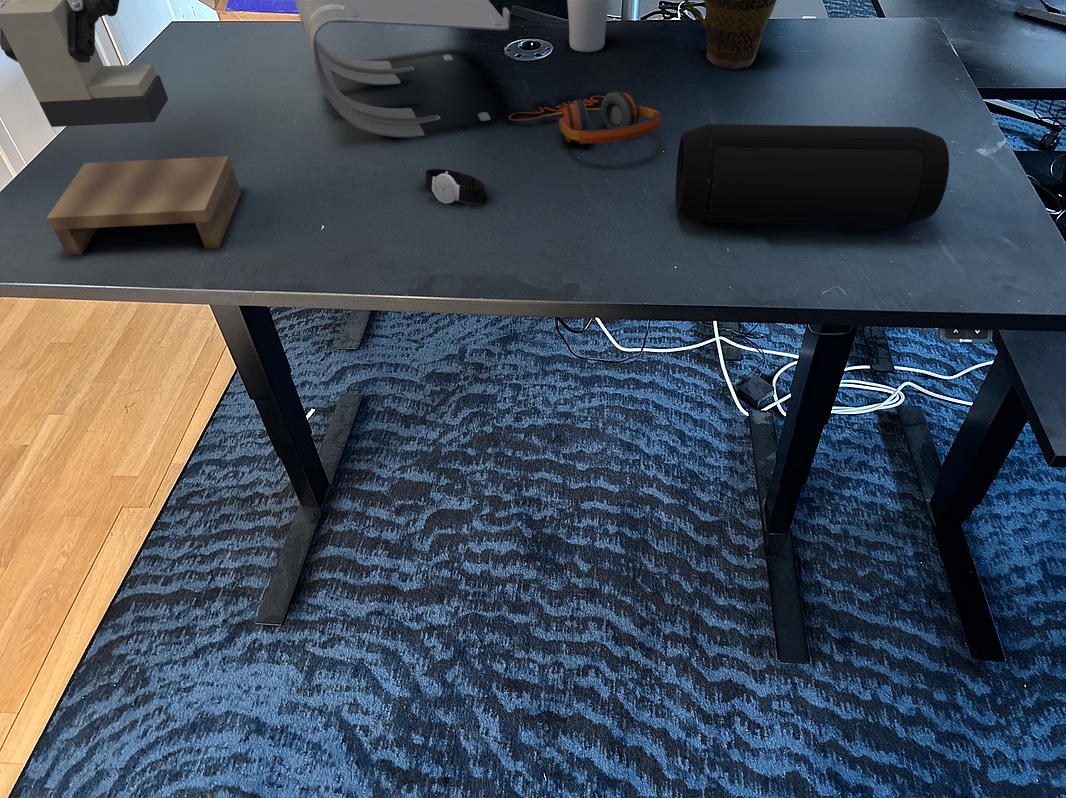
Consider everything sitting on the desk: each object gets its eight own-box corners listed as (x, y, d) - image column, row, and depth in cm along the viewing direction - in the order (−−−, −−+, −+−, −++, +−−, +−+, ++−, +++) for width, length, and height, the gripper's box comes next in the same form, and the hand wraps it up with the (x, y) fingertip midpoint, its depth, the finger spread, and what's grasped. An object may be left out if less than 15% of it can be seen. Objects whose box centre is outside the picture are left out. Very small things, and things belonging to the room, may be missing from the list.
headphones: (504, 135, 103) (568, 172, 87) (498, 94, 100) (564, 124, 84) (615, 110, 107) (695, 140, 92) (613, 69, 105) (695, 94, 89)
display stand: (68, 258, 82) (46, 217, 78) (103, 202, 89) (84, 162, 86) (220, 250, 82) (204, 209, 78) (242, 195, 90) (228, 155, 86)
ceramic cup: (773, 51, 114) (787, -23, 106) (756, 79, 107) (770, 2, 100) (688, 38, 118) (696, -33, 110) (667, 64, 111) (674, -10, 104)
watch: (417, 195, 89) (413, 167, 86) (442, 177, 91) (439, 149, 89) (470, 215, 85) (467, 186, 83) (495, 196, 88) (493, 167, 85)
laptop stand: (311, 73, 112) (284, -44, 101) (468, 49, 117) (458, -66, 106) (336, 156, 95) (306, 26, 84) (518, 123, 100) (512, -4, 89)
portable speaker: (903, 195, 86) (935, 109, 79) (927, 247, 79) (964, 158, 72) (672, 190, 88) (682, 106, 81) (676, 241, 81) (687, 153, 74)
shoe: (51, 127, 75) (-7, 13, 67) (69, 103, 78) (16, -7, 71) (154, 122, 75) (109, 8, 67) (168, 99, 78) (126, -12, 71)
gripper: (-61, -155, 67) (-61, 42, 67) (99, -158, 66) (98, 41, 67) (3, -101, 75) (3, 75, 75) (147, -103, 74) (146, 75, 74)
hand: (48, 58), depth 71 cm, fingers closed on shoe, 5 cm apart
